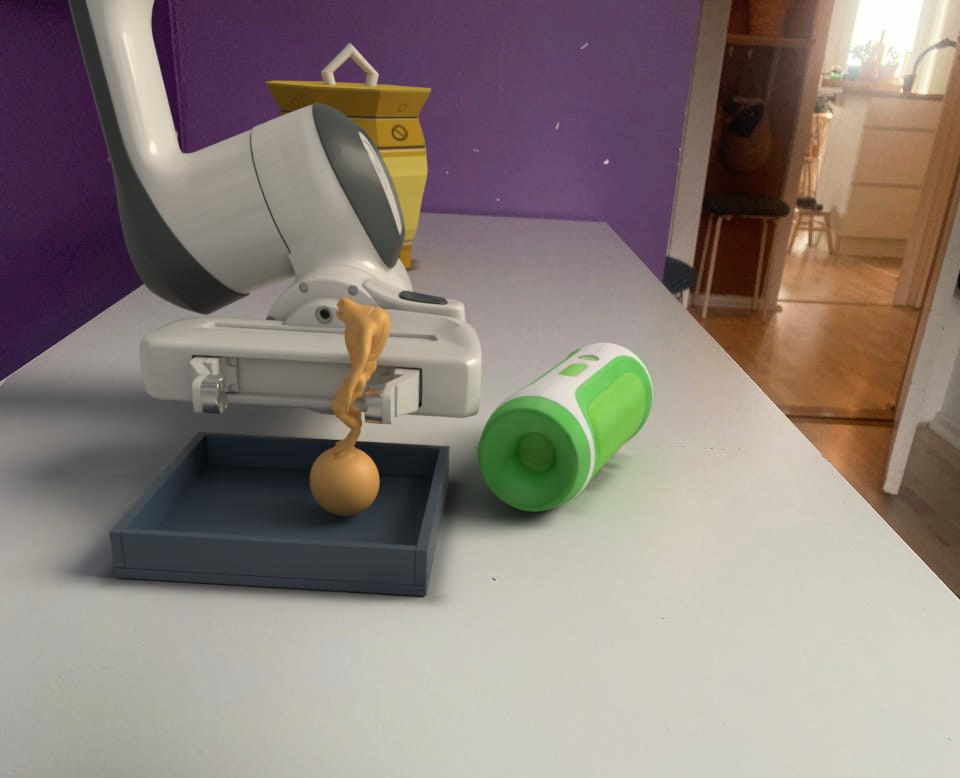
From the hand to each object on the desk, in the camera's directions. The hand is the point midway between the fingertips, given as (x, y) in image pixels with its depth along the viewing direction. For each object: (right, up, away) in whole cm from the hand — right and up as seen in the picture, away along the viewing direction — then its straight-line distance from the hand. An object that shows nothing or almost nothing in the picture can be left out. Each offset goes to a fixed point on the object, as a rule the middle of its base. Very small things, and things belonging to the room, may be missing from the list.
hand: (291, 404), depth 56 cm
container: (-6, +37, +80) cm, 88 cm away
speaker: (+16, -2, +14) cm, 21 cm away
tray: (0, -6, +4) cm, 8 cm away
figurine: (+4, -5, +4) cm, 8 cm away
